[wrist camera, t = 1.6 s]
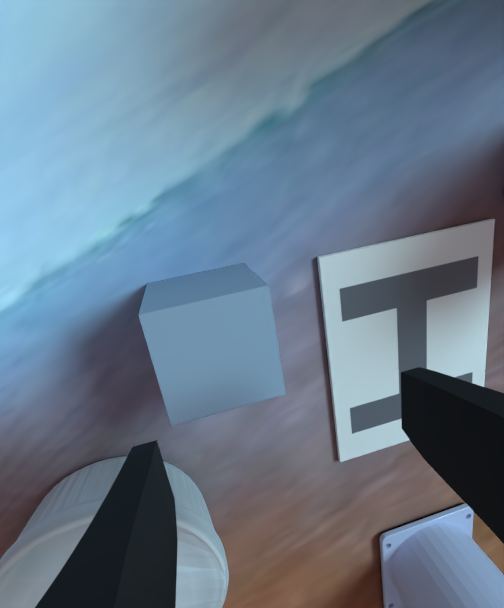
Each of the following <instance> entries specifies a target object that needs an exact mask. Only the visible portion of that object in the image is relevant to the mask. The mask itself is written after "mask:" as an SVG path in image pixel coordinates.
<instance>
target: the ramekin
mask: <svg viewBox="0 0 504 608" xmlns="http://www.w3.org/2000/svg"><path fill="white" fill-rule="evenodd" d="M126 458H127V456H123V457H115V458H110V459H106V460H102V461H98V462H96V463H93V464H91V465H88V466H85V467H84V468H82V469H80V470H77V471H75V472H74V473H72V474H71V475H69V476H67V477H66V478H64V479H63V480H62V481H61V482H60V483H58V484H57V485H55V486H54V487H53V488H52V490H51V491H50V492H49V493H48V494H47V495H46V496H45V497H44V499H43V500H42V502H41V503H40V505H39V506H38V507H37V509H36V510H35V512H34V513H33V515H32V517H31V518H30V520H29V521H28V523H27V524H26V526H25V528H24V529H23V531H22V532H21V534H20V535H19V537H18V539H17V540H16V542H15V543H14V544H13V545H12V546H11V547H10V548H9V549H8V550H7V551H6V553H5V554H4V555H3V556H2V558H1V559H0V608H35V607H36V605H37V604H38V602H39V601H40V600H41V598H42V597H43V595H44V594H45V593H46V591H47V590H48V588H49V587H50V585H51V584H52V582H53V581H54V580H55V578H56V577H57V575H58V574H59V572H60V571H61V569H62V568H63V566H64V565H65V563H66V562H67V560H68V558H69V557H70V555H71V554H72V552H73V550H74V549H75V547H76V546H77V544H78V543H79V541H80V539H81V538H82V536H83V535H84V533H85V532H86V530H87V528H88V527H89V525H90V523H91V522H92V520H93V518H94V516H95V515H96V513H97V511H98V509H99V508H100V506H101V504H102V503H103V501H104V499H105V497H106V496H107V494H108V492H109V490H110V488H111V486H112V485H113V483H114V481H115V479H116V477H117V475H118V474H119V472H120V470H121V468H122V466H123V464H124V462H125V460H126ZM163 463H164V466H165V469H166V472H167V476H168V479H169V482H170V485H171V488H172V492H173V495H174V498H175V510H176V523H177V538H178V542H177V578H176V608H222V606H223V604H224V601H225V598H226V593H227V588H228V580H229V571H228V566H227V560H226V555H225V551H224V547H223V545H222V542H221V540H220V538H219V536H218V535H217V533H216V532H215V530H214V527H213V524H212V521H211V518H210V515H209V512H208V509H207V506H206V503H205V501H204V499H203V496H202V494H201V492H200V491H199V489H198V487H197V486H196V484H195V483H194V482H193V481H192V480H191V478H190V477H189V476H187V475H186V474H185V473H184V472H183V471H182V470H180V469H178V468H176V467H175V466H173V465H171V464H168V463H166V462H164V461H163Z"/></svg>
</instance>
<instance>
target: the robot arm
mask: <svg viewBox="0 0 504 608" xmlns="http://www.w3.org/2000/svg"><path fill="white" fill-rule="evenodd" d="M401 420H402V430H403V431H404V432H405V434H406V435H407V437H408V438H409V439H410V441H411V442H412V444H413V445H414V446H415V448H416V449H417V450H418V451H419V453H420V454H421V455H422V457H423V458H424V459H425V460H426V461H427V462H428V463H429V465H430V466H431V467H432V468H433V469H434V470H435V471H436V472H437V473H438V474H439V475H440V476H441V477H442V478H443V480H444V481H445V482H446V483H447V484H448V485H449V486H450V487H451V488H452V489H453V490H454V491H455V492H456V493H457V494H458V495H459V496H460V497H461V498H462V499H463V501H464V502H465V504H462V505H459V506H456V507H454V508H451V509H448V510H445V511H443V512H440V513H437V514H434V515H432V516H429V517H426V518H423V519H420V520H418V521H415V522H412V523H409V524H407V525H404V526H401V527H398V528H396V529H393V530H390V531H387V532H385V533H383V534H382V535H381V536H380V555H381V571H382V587H383V603H384V608H504V575H503V574H502V572H501V571H500V570H499V569H498V568H497V567H496V566H495V564H494V563H493V562H492V561H491V560H490V559H489V558H488V556H487V555H486V554H485V553H484V552H483V551H482V550H481V548H480V547H479V546H478V545H477V544H476V543H475V542H474V541H473V539H472V529H473V512H475V513H476V514H477V515H478V516H479V517H480V518H481V519H482V520H483V522H484V523H485V524H486V525H487V526H488V527H489V528H490V529H491V530H492V531H493V532H494V533H495V534H496V536H497V537H498V538H499V539H500V540H501V541H502V542H503V543H504V393H501V392H498V391H495V390H492V389H488V388H485V387H482V386H479V385H476V384H473V383H470V382H467V381H464V380H461V379H458V378H455V377H452V376H449V375H445V374H442V373H439V372H436V371H432V370H429V369H425V368H421V367H417V368H414V369H410V370H407V371H403V372H401ZM177 542H178V538H177V523H176V510H175V498H174V495H173V492H172V488H171V485H170V482H169V479H168V476H167V472H166V469H165V466H164V463H163V459H162V456H161V453H160V450H159V447H158V443H157V440H156V441H153V442H149V443H145V444H142V445H138V446H135V447H133V448H132V449H131V451H130V453H129V455H128V456H127V458H126V460H125V462H124V464H123V466H122V468H121V470H120V472H119V474H118V475H117V477H116V479H115V481H114V483H113V485H112V486H111V488H110V490H109V492H108V494H107V496H106V497H105V499H104V501H103V503H102V504H101V506H100V508H99V509H98V511H97V513H96V515H95V516H94V518H93V520H92V522H91V523H90V525H89V527H88V528H87V530H86V532H85V533H84V535H83V536H82V538H81V539H80V541H79V543H78V544H77V546H76V547H75V549H74V550H73V552H72V554H71V555H70V557H69V558H68V560H67V562H66V563H65V565H64V566H63V568H62V569H61V571H60V572H59V574H58V575H57V577H56V578H55V580H54V581H53V582H52V584H51V585H50V587H49V588H48V590H47V591H46V593H45V594H44V595H43V597H42V598H41V600H40V601H39V602H38V604H37V605H36V607H35V608H176V578H177Z"/></svg>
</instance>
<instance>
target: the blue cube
mask: <svg viewBox="0 0 504 608" xmlns="http://www.w3.org/2000/svg"><path fill="white" fill-rule="evenodd" d="M139 319H140V322H141V326H142V329H143V332H144V336H145V339H146V342H147V346H148V349H149V352H150V356H151V359H152V363H153V366H154V369H155V373H156V376H157V379H158V383H159V386H160V390H161V393H162V396H163V400H164V403H165V406H166V410H167V413H168V417H169V420H170V423H171V426H174V425H177V424H181V423H184V422H188V421H192V420H195V419H199V418H202V417H206V416H209V415H213V414H217V413H220V412H224V411H227V410H231V409H234V408H238V407H242V406H245V405H249V404H252V403H256V402H259V401H263V400H266V399H270V398H274V397H277V396H281V395H284V394H286V392H285V386H284V380H283V373H282V367H281V361H280V354H279V348H278V342H277V335H276V329H275V323H274V316H273V310H272V304H271V297H270V291H269V285H268V284H267V283H265V282H264V281H263V280H262V279H261V278H260V277H259V276H258V275H257V274H256V273H254V272H253V271H252V270H251V269H250V268H249V267H248V266H247V265H246V264H245V263H240V264H236V265H231V266H226V267H222V268H217V269H212V270H208V271H203V272H198V273H194V274H189V275H184V276H180V277H175V278H170V279H166V280H161V281H156V282H152V283H147V286H146V289H145V293H144V297H143V300H142V304H141V307H140V311H139Z"/></svg>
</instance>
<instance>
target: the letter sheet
mask: <svg viewBox="0 0 504 608" xmlns="http://www.w3.org/2000/svg"><path fill="white" fill-rule="evenodd" d="M494 225H495V219H487V220H483V221H478V222H474V223H469V224H464V225H460V226H455V227H451V228H446V229H441V230H437V231H432V232H428V233H423V234H419V235H414V236H409V237H405V238H400V239H396V240H391V241H386V242H382V243H377V244H373V245H368V246H364V247H359V248H354V249H350V250H345V251H341V252H336V253H331V254H327V255H322V256H318V257H317V263H318V272H319V281H320V291H321V300H322V310H323V319H324V329H325V338H326V347H327V357H328V366H329V376H330V385H331V395H332V404H333V413H334V423H335V432H336V442H337V451H338V459H339V461H340V462H342V461H346V460H349V459H352V458H355V457H358V456H361V455H364V454H367V453H371V452H374V451H377V450H380V449H383V448H386V447H389V446H392V445H396V444H399V443H402V442H405V441H408V440H410V439H409V438H408V437H407V435H406V434H405V432H404V431H403V430H402V420H401V372H403V371H407V370H410V369H414V368H417V367H421V368H425V369H429V370H432V371H436V372H439V373H442V374H445V375H449V376H452V377H455V378H458V379H461V380H464V381H467V382H470V383H473V384H476V385H479V386H482V387H484V381H485V365H486V349H487V334H488V318H489V303H490V287H491V272H492V256H493V240H494Z"/></svg>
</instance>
